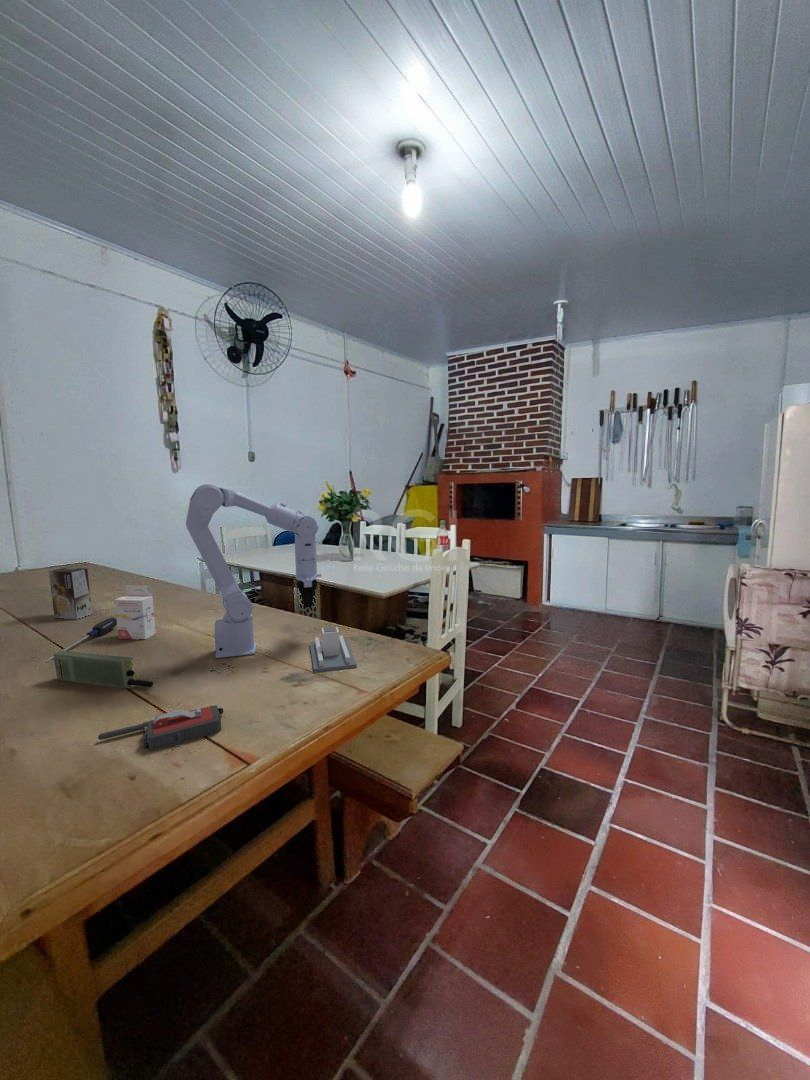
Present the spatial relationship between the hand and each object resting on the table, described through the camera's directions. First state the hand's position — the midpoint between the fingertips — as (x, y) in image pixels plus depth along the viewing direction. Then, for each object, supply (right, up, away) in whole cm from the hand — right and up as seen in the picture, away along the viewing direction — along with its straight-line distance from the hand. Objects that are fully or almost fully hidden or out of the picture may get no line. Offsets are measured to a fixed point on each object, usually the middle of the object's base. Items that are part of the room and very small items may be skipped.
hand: (307, 606), depth 125 cm
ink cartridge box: (-50, -10, +4) cm, 52 cm away
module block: (+8, -10, -11) cm, 17 cm away
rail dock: (+8, -11, -11) cm, 18 cm away
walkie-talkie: (-15, -16, -46) cm, 51 cm away
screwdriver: (-62, -11, -1) cm, 63 cm away
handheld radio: (-40, -14, -25) cm, 49 cm away
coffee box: (-84, -7, +24) cm, 87 cm away
